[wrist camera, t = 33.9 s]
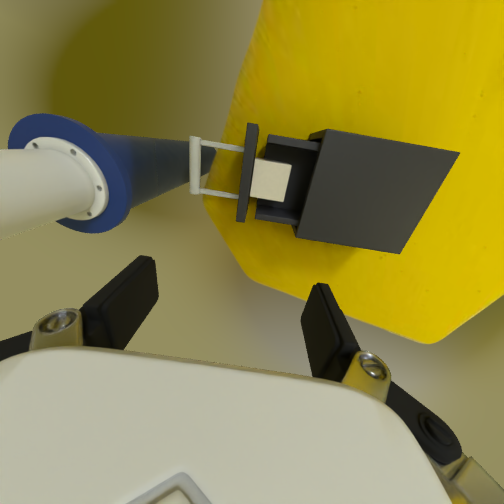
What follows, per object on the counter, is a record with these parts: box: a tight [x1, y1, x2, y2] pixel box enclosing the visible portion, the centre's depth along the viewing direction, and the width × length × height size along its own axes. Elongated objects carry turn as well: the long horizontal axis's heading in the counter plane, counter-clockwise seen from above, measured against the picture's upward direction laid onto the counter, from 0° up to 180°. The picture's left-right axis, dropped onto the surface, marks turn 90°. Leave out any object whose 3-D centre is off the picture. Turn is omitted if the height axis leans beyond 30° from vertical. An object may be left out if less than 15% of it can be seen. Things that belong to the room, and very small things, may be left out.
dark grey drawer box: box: [291, 129, 460, 254], centre depth 27 cm, size 15×13×8 cm
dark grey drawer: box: [190, 123, 321, 226], centre depth 27 cm, size 21×11×6 cm, turn 81°
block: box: [250, 158, 292, 202], centre depth 26 cm, size 4×4×4 cm
